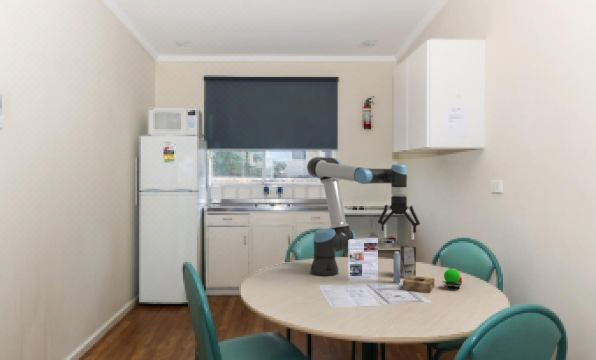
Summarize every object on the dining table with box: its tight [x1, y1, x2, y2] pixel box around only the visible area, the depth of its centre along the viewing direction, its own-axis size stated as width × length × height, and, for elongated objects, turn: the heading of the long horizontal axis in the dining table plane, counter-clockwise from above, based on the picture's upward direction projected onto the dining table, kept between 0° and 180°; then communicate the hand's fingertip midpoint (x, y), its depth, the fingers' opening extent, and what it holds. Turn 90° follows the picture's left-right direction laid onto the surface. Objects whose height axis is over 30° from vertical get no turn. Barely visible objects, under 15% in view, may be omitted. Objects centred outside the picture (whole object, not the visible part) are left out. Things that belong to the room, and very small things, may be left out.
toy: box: [442, 268, 463, 289], centre depth 200 cm, size 8×8×15 cm
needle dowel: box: [392, 250, 401, 284], centre depth 209 cm, size 3×3×15 cm
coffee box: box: [399, 244, 417, 279], centre depth 221 cm, size 9×6×16 cm
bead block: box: [402, 275, 435, 294], centre depth 198 cm, size 12×12×4 cm
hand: (398, 238), depth 209 cm, fingers open, 13 cm apart
